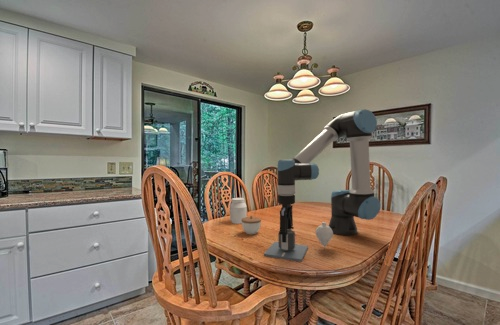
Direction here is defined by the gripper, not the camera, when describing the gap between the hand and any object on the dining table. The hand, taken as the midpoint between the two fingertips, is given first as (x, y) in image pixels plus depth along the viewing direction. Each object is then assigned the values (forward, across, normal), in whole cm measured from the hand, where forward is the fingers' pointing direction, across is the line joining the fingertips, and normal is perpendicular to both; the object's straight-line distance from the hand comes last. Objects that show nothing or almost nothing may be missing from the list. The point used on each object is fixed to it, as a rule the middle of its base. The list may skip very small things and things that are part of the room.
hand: (286, 246), depth 107 cm
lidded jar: (+3, -20, -25) cm, 32 cm away
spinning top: (+3, -10, +15) cm, 18 cm away
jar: (+3, -39, -42) cm, 57 cm away
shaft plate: (+3, 0, 0) cm, 3 cm away
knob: (0, 0, 0) cm, 0 cm away
